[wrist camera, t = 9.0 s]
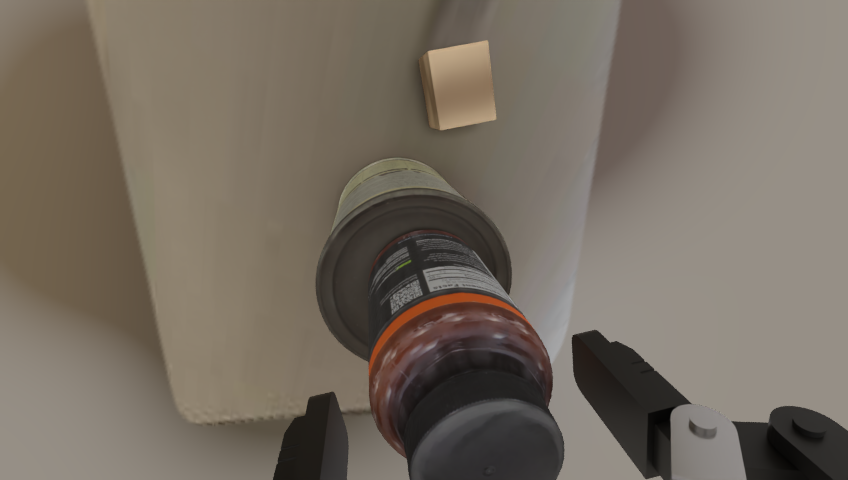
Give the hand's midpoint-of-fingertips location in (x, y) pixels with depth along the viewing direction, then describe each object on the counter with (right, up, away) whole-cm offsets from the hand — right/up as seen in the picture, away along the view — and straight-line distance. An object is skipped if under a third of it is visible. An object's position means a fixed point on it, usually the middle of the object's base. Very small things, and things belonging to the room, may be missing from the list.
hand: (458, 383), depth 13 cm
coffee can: (-3, +7, +21) cm, 22 cm away
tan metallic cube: (+1, +17, +18) cm, 24 cm away
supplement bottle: (-1, +3, +8) cm, 8 cm away
